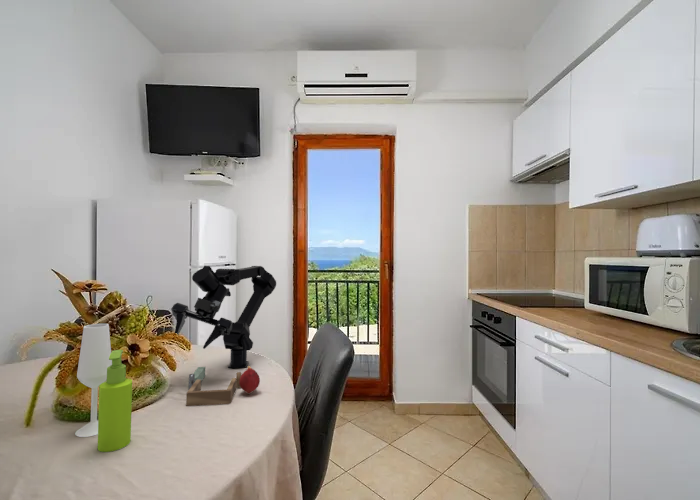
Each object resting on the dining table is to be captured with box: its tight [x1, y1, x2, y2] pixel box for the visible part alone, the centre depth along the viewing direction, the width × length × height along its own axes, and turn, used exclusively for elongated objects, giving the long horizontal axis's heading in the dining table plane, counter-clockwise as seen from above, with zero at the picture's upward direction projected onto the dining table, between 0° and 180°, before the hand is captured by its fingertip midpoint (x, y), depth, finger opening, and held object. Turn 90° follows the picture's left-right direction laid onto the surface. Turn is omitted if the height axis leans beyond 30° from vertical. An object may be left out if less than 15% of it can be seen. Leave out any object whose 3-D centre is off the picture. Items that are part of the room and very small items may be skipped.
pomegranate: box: [239, 365, 261, 395], centre depth 103 cm, size 6×6×8 cm
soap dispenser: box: [97, 349, 133, 453], centre depth 74 cm, size 6×7×20 cm
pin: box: [188, 373, 195, 390], centre depth 105 cm, size 2×2×4 cm
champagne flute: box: [74, 323, 112, 438], centre depth 81 cm, size 7×7×24 cm
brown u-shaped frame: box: [185, 371, 242, 407], centre depth 101 cm, size 12×13×4 cm
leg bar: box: [192, 366, 206, 382], centre depth 111 cm, size 10×2×3 cm, turn 10°
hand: (189, 343), depth 105 cm, fingers open, 9 cm apart
